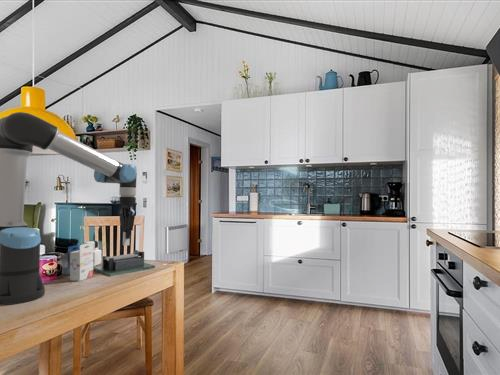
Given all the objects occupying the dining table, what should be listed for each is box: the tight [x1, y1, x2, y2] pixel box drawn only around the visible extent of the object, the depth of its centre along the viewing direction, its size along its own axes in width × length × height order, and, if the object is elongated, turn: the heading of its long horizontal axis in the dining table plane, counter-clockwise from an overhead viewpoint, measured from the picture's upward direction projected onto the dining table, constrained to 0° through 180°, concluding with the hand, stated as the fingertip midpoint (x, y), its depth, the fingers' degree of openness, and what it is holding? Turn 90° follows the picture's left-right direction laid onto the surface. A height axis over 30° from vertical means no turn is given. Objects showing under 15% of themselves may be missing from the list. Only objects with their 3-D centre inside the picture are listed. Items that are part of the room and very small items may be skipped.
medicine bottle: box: [84, 240, 102, 267], centre depth 165 cm, size 7×7×12 cm
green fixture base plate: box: [93, 249, 156, 277], centre depth 156 cm, size 22×18×8 cm
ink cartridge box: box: [69, 243, 94, 282], centre depth 138 cm, size 9×5×15 cm, turn 168°
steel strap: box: [104, 250, 142, 261], centre depth 156 cm, size 17×4×2 cm, turn 138°
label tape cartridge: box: [60, 243, 82, 275], centre depth 149 cm, size 9×4×12 cm, turn 171°
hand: (126, 245), depth 157 cm, fingers closed
